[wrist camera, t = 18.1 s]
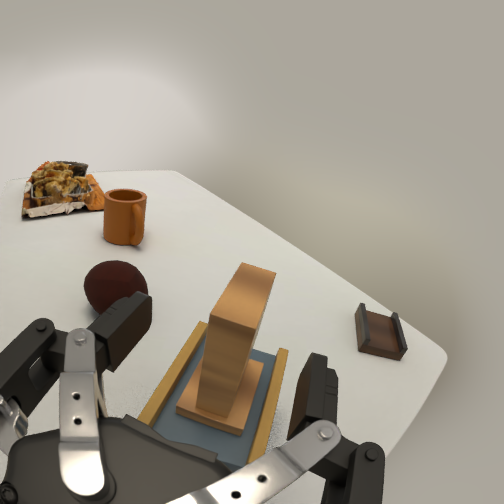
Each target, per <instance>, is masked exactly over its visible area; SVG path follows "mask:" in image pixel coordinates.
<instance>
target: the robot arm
mask: <svg viewBox="0 0 504 504" xmlns="http://www.w3.org/2000/svg"><path fill="white" fill-rule="evenodd" d="M151 322H152V297H151V296H149V295H146V294H144V293H141V292H139V291H137V292H135V293H134V294H133V295H132V296H131V297H130V298H128V297H124V298H121V299H119V300H117V301H116V302H114V303H113V304H112V305H111V306H110V308H108V309H107V310H106V311H105V312H104V313H103V314H101V315H100V316H99V317H98V318H97V319H96V320H95V321H94V322H93V323H92V324H91V325H90V326H89V327H88V328H86V329H83V328H79V329H75V330H73V331H71V332H70V333H68V332H64V331H60V330H56V329H55V327H54V324H53V322H52V321H51V320H49V319H46V318H40V319H37V320H35V321H33V322H32V323H31V324H30V325H29V326H28V327H27V328H26V329H25V330H24V331H22V332H21V333H20V334H19V335H18V336H17V337H16V338H15V339H14V340H13V341H12V342H11V343H10V344H9V345H8V346H7V347H6V348H5V349H4V350H3V351H2V352H1V353H0V450H2V451H3V452H4V453H5V454H6V455H7V456H8V463H7V470H6V474H5V477H4V480H3V481H2V483H1V484H0V504H263V503H265V502H266V501H268V500H269V499H271V498H272V497H273V496H275V495H276V494H278V493H279V492H280V491H282V490H283V489H285V488H286V487H287V486H289V485H290V484H291V483H293V482H294V481H295V480H297V479H298V478H299V477H301V476H302V475H303V474H304V473H306V472H307V471H310V472H312V473H314V474H316V475H318V476H320V477H323V478H325V479H326V482H325V486H324V491H323V496H322V500H321V504H382V495H383V484H384V468H385V454H384V451H383V449H382V448H381V447H380V446H379V445H378V444H376V443H373V442H365V443H362V444H361V445H358V444H356V443H354V442H352V441H350V440H348V439H346V438H345V437H343V436H342V435H341V432H340V429H339V428H338V427H337V403H338V397H337V396H338V377H337V375H336V372H335V370H334V369H330V368H327V360H328V358H327V356H324V355H320V354H316V353H313V352H312V353H311V354H310V356H309V358H308V360H307V362H306V364H305V366H304V368H303V370H302V372H301V374H300V376H299V379H298V382H297V387H296V393H295V398H294V404H293V409H292V415H291V420H290V425H289V430H288V435H287V439H286V440H287V441H288V442H287V443H285V444H284V445H282V446H281V447H276V448H274V449H272V450H270V451H269V452H267V453H266V454H264V455H263V456H261V457H259V458H258V459H256V460H255V461H253V462H251V463H250V464H248V465H246V466H244V467H243V468H241V469H239V470H238V471H236V472H234V473H233V472H232V471H231V470H230V469H229V468H228V467H227V466H226V465H225V464H224V463H222V462H221V461H219V460H218V459H216V458H217V456H218V453H216V452H213V451H210V450H207V449H204V448H201V447H199V446H196V445H192V444H186V443H180V442H175V441H170V440H167V439H165V438H164V437H163V436H161V435H160V434H159V433H158V432H156V431H155V430H154V429H152V428H151V427H150V426H149V425H147V424H145V423H143V422H141V421H139V420H137V419H135V418H133V417H131V416H130V415H128V414H126V415H125V416H124V418H123V419H122V418H117V417H108V414H107V410H106V403H105V394H104V382H103V372H104V371H105V370H106V369H107V370H109V371H111V372H113V373H114V371H115V370H116V369H117V368H118V366H119V365H120V364H121V363H122V361H123V360H124V359H125V358H126V357H127V355H128V354H129V353H130V352H131V350H132V349H133V348H134V347H135V346H136V344H137V343H138V342H139V341H140V340H141V338H142V337H143V336H144V335H145V334H146V332H147V331H148V330H149V328H150V325H151ZM39 357H40V358H39ZM38 358H39V359H38ZM37 359H38V360H37ZM36 360H37V361H36ZM35 361H36V362H35ZM34 362H35V363H34ZM33 364H34V365H33ZM32 365H33V366H32ZM31 366H32V367H31ZM30 367H31V368H30ZM59 377H60V384H59V424H60V429H56V430H52V431H47V432H43V433H38V434H33V435H28V436H25V435H26V434H27V428H28V419H27V418H28V417H29V415H30V414H31V413H32V411H33V410H34V409H35V407H36V406H37V405H38V403H39V402H40V401H41V400H42V398H43V397H44V396H45V394H46V393H47V392H48V391H49V389H50V388H51V387H52V386H53V384H54V383H55V382H56V381H57V379H58V378H59Z"/></svg>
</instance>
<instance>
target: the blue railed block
mask: <svg viewBox="0 0 504 504" xmlns="http://www.w3.org/2000/svg"><path fill="white" fill-rule="evenodd" d="M207 328H208V324H207V323H204V322H201V321H199V323H198V324H197V326H196V327H195V329H194V330H193V332H192V334H191V335H190V337H189V338H188V340H187V341H186V343H185V344H184V346H183V348H182V349H181V351H180V352H179V354H178V355H177V357H176V359H175V360H174V362H173V363H172V365H171V366H170V368H169V369H168V371H167V373H166V374H165V376H164V377H163V379H162V380H161V382H160V384H159V385H158V387H157V388H156V390H155V391H154V393H153V395H152V396H151V398H150V399H149V401H148V403H147V404H146V406H145V407H144V409H143V410H142V412H141V414H140V415H139V417H138V418H137V420H139V421H141V422H143V423H145V424H147V425H149V426H150V427H151V428H152V429H154V430H155V431H156V432H158V433H159V434H160V435H161V436H163V437H164V438H165V439H167V440H170V441H175V442H180V443H186V444H192V445H196V446H199V447H201V448H204V449H207V450H210V451H213V452H216V453H218V456H217V458H216V459H218V460H219V461H221V462H222V463H224V464H225V465H226V466H227V467H228V468H229V469H230V470H231V471H232V472H233V473H234V472H236V471H238V470H239V469H241V468H243V467H244V466H246V465H248V464H250V463H251V462H253V461H255V460H256V459H258V458H259V457H261V456H263V455H264V454H265V450H266V446H267V443H268V439H269V435H270V431H271V427H272V423H273V419H274V414H275V410H276V406H277V402H278V397H279V393H280V389H281V384H282V380H283V375H284V370H285V366H286V361H287V356H288V350H286V349H283V348H279V350H278V352H277V355H276V356H274V355H271V354H268V353H264V352H261V351H258V350H255V349H252V352H251V356H250V359H252V360H255V361H258V362H261V363H264V366H263V369H262V372H261V376H260V379H259V382H258V386H257V389H256V392H255V395H254V399H253V402H252V405H251V408H250V411H249V414H248V418H247V421H246V424H245V427H244V430H243V432H242V434H241V436H238V435H235V434H232V433H228V432H225V431H222V430H219V429H216V428H214V427H211V426H208V425H205V424H203V423H200V422H197V421H195V420H192V419H189V418H187V417H184V416H182V415H180V414H177V413H176V404H177V402H178V400H179V399H180V397H181V395H182V393H183V391H184V389H185V388H186V386H187V384H188V382H189V380H190V378H191V377H192V375H193V373H194V371H195V369H196V367H197V366H198V364H199V362H200V360H201V358H202V356H203V353H204V347H205V340H206V334H207Z"/></svg>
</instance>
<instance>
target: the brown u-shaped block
mask: <svg viewBox="0 0 504 504" xmlns="http://www.w3.org/2000/svg"><path fill="white" fill-rule="evenodd" d="M355 321H356V330H357V341H358V351H361V352H365V353H369V354H373V355H377V356H381V357H386V358H390V359H395V360H399V361H400V359H401V358H402V357H403V355H404V354H405V352H406V351H407V349H408V348H407V344H406V341H405V337H404V334H403V330H402V327H401V324H400V320H399V317H398V314H397V313H395V312H393V314H392V315H391V317H388V316H384V315H381V314H377V313H374V312H370V311H367V310H366V308H365V304H364V303H360V305H359V307H358V309H357V311H356V313H355Z"/></svg>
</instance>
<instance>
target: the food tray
mask: <svg viewBox="0 0 504 504" xmlns="http://www.w3.org/2000/svg"><path fill="white" fill-rule="evenodd" d="M69 164H72V165H69ZM87 168H88V165H87V164H84V163H77V162H66V161H56V162H51V163H50V162H49V161H47V162H45V163H44V164H42V165H41V166H40V167H38V169H37V170H36V171H34V172H32V176H31V178H30V179H29V180H28V181H27V182H26V184H28V185H26V186H25V187H26V188H25V193H24V201H23V208H22V217H23V216H24V217H27V216H30V217H35V216H47V215H50V214H55V213H61V212H64V211H66V214H68V213H69V212H71V211H72V210H73V209H75V208H76V209H80V208H82V207H83V206H84V205H85V206H86V207H87V208H88V209H89V210H100V209H104V198H105V194H104V193H103V191H102V190H101V188H100V187H99V185H98V183H97V182H96V180H95V179H94V178H93V176H92V174H88V175H86V170H87Z"/></svg>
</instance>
